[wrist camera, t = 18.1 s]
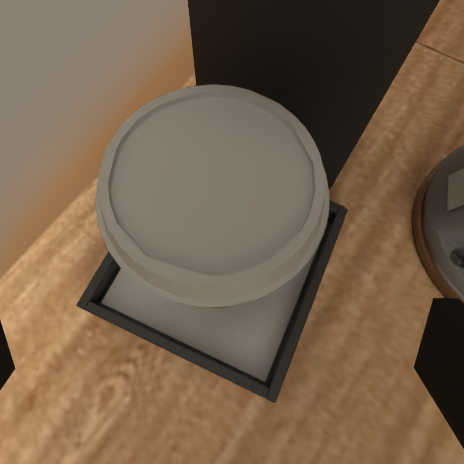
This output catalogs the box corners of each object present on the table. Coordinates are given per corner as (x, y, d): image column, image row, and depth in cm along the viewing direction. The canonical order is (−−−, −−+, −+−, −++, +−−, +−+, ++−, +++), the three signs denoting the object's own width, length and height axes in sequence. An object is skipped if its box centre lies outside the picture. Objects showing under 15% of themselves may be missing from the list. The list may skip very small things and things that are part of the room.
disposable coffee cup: (119, 257, 25) (34, 168, 14) (222, 174, 28) (220, 40, 16) (212, 366, 23) (201, 364, 12) (316, 265, 25) (390, 181, 14)
